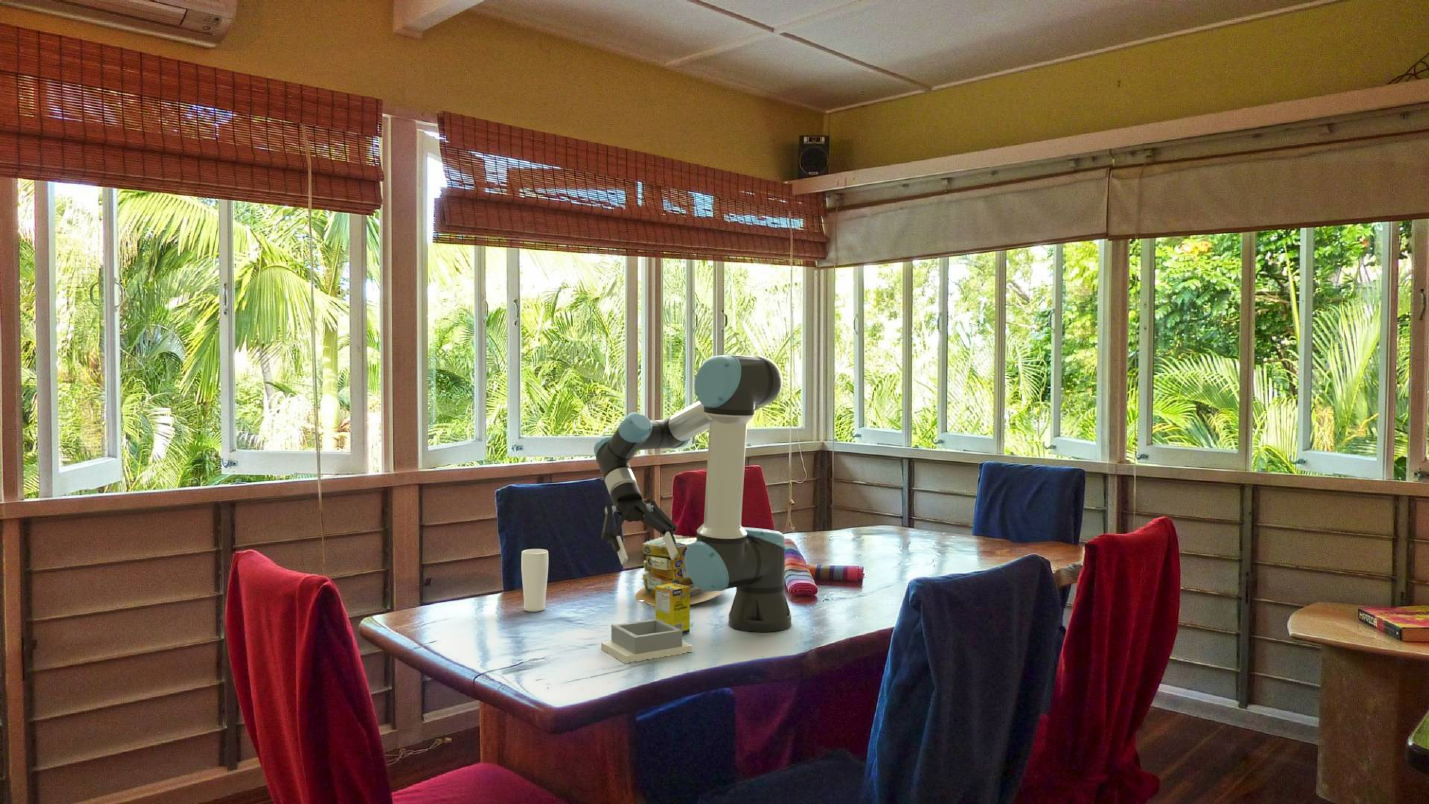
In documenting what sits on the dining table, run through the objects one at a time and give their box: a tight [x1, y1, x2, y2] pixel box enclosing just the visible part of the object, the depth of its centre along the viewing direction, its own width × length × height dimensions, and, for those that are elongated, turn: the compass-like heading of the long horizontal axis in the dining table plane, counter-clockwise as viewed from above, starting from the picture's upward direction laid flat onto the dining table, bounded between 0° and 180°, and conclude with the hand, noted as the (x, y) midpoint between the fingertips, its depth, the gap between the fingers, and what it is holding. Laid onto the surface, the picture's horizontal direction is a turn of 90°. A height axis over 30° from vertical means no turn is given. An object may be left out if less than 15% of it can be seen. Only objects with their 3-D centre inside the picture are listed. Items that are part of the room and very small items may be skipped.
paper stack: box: [635, 533, 727, 607], centre depth 258 cm, size 25×25×17 cm
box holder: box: [600, 618, 693, 664], centre depth 208 cm, size 16×12×5 cm
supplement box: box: [654, 583, 691, 635], centre depth 222 cm, size 6×6×11 cm
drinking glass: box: [520, 548, 549, 613], centre depth 242 cm, size 7×7×15 cm
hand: (650, 559), depth 231 cm, fingers open, 13 cm apart
